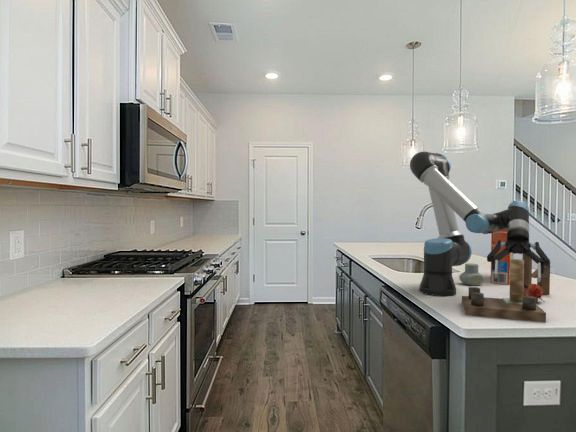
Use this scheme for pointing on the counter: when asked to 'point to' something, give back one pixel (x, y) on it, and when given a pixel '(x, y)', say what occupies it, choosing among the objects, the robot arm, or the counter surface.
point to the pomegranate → (533, 291)
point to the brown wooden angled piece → (536, 275)
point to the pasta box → (504, 263)
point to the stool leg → (516, 280)
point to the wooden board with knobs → (502, 307)
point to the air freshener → (471, 275)
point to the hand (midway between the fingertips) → (517, 277)
